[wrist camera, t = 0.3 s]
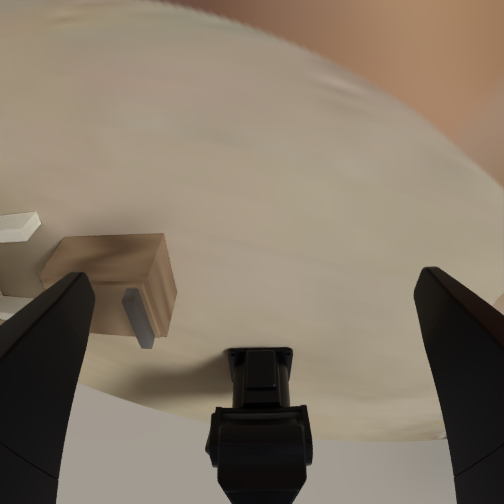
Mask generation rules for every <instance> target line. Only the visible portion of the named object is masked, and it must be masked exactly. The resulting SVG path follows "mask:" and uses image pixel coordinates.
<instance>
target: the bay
mask: <svg viewBox="0 0 504 504" xmlns="http://www.w3.org/2000/svg"><path fill="white" fill-rule="evenodd" d="M40 225H41V222H40V219H39V216H38V214H37V211H36V212H26V213H18V214H9V215H1V216H0V243H3V242H23V241H27V240H28V239H29V238H30V237H31V235H32V234H33V233H34V232H35V231H36V229H37V228H38V227H39V226H40ZM33 299H35V298H23V297H11V296H3V294H2V293H1V291H0V319H3V320H8V319H9V318H10V317H11V316H13V315H14V314H15V313H17V312H18V311H19V310H20V309H22V308H23V307H24V306H25V305H27V304H28V303H29V302H31V301H32V300H33Z"/></svg>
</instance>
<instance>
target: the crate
mask: <svg viewBox="0 0 504 504" xmlns="http://www.w3.org/2000/svg"><path fill="white" fill-rule="evenodd" d="M72 271H83V272H85V273H86V274H87V276H88V278H89V281H90V283H91V286H92V288H93V291H94V293H95V298H96V300H95V306H94V311H93V316H92V321H91V326H90V331H89V333H97V334H109V335H122V336H136V337H137V340H138V342H139V344H140V346H141V348H145V349H152V346H153V342H154V338H160V337H167V334H168V329H169V325H170V320H171V316H172V312H173V307H174V303H175V299H176V295H177V290H176V285H175V281H174V277H173V273H172V268H171V264H170V259H169V255H168V250H167V246H166V241H165V236H164V233H160V234H129V235H102V236H78V237H64V238H63V240H62V241H61V243H60V244H59V245H58V247H57V248H56V250H55V251H54V252H53V254H52V255H51V257H50V258H49V260H48V261H47V263H46V264H45V266H44V267H43V269H42V270H41V272H40V273H39V275H38V276H39V278H40V280H41V282H42V285H43V287H44V289H45V290H47V289H48V288H49V287H51V286H52V285H53V284H55V283H56V282H57V281H59V280H60V279H62V278H63V277H64V276H66V275H67V274H69V273H70V272H72Z"/></svg>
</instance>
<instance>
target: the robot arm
mask: <svg viewBox="0 0 504 504" xmlns="http://www.w3.org/2000/svg"><path fill="white" fill-rule="evenodd" d="M95 300H96V298H95V293H94V291H93V288H92V286H91V283H90V281H89V278H88V276H87V274H86V273H85V272H83V271H72V272H70V273H69V274H67V275H66V276H64V277H63V278H62V279H60V280H59V281H57V282H56V283H55V284H53V285H52V286H51V287H49V288H48V289H47V290H45V291H44V292H43V293H41V294H40V295H39V296H37V297H36V298H35V299H33V300H32V301H31V302H29V303H28V304H27V305H25V306H24V307H23V308H22V309H20V310H19V311H18V312H17V313H15V314H14V315H13V316H11V317H10V318H9V319H8V320H6V321H5V322H4V323H3V324H2V325H0V504H56V497H57V489H58V479H59V472H60V465H61V459H62V452H63V447H64V441H65V436H66V431H67V426H68V421H69V416H70V411H71V407H72V402H73V398H74V393H75V389H76V385H77V381H78V377H79V374H80V370H81V366H82V362H83V359H84V355H85V351H86V347H87V342H88V336H89V331H90V326H91V321H92V316H93V311H94V306H95ZM414 301H415V305H416V309H417V314H418V318H419V323H420V328H421V333H422V338H423V342H424V346H425V350H426V354H427V357H428V360H429V364H430V367H431V371H432V375H433V378H434V382H435V386H436V390H437V394H438V398H439V402H440V406H441V411H442V414H443V420H444V424H445V429H446V434H447V439H448V444H449V450H450V455H451V462H452V467H453V475H454V483H455V491H456V499H457V504H504V315H503V314H501V313H500V312H499V311H498V310H496V309H495V308H494V307H492V306H491V305H490V304H488V303H487V302H486V301H484V300H483V299H482V298H480V297H479V296H478V295H476V294H475V293H474V292H472V291H471V290H469V289H468V288H467V287H465V286H464V285H463V284H461V283H460V282H458V281H457V280H456V279H454V278H453V277H451V276H450V275H448V274H447V273H446V272H444V271H443V270H441V269H440V268H438V267H424V268H423V269H422V271H421V273H420V276H419V279H418V281H417V284H416V287H415V289H414ZM228 357H229V364H230V371H231V378H232V382H233V404H232V408H222V407H216V410H215V413H213V414H212V415H211V427H210V432H209V436H208V439H207V443H206V447H205V451H206V452H207V454H208V455H209V456H210V459H211V462H212V466H213V467H216V468H218V470H217V471H218V473H217V475H218V476H217V479H218V483H219V484H220V486H221V488H222V489H223V491H224V492H225V494H226V495H227V497H228V498H229V500H230V502H231V503H232V504H292V503H293V501H294V500H295V498H296V496H297V495H298V493H299V491H300V490H301V488H302V486H303V485H304V483H305V481H306V478H307V475H306V466H309V465H311V464H312V458H313V445H312V435H311V429H310V423H309V418H308V412H307V406H306V405H301V406H292V407H290V397H289V383H288V381H289V378H290V372H291V365H292V358H293V350H292V349H291V348H271V349H230V350H229V351H228Z"/></svg>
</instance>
